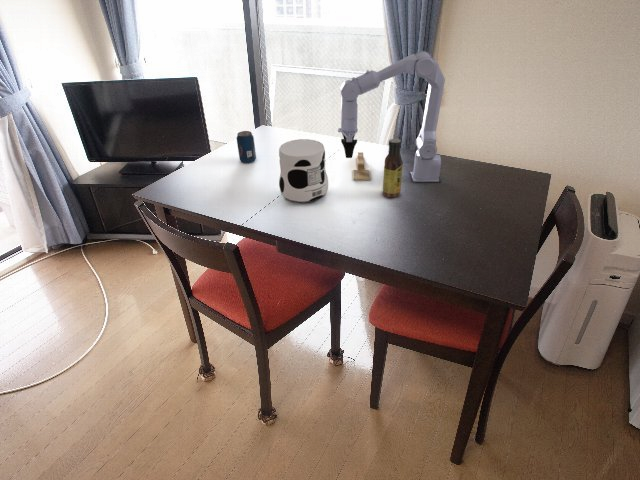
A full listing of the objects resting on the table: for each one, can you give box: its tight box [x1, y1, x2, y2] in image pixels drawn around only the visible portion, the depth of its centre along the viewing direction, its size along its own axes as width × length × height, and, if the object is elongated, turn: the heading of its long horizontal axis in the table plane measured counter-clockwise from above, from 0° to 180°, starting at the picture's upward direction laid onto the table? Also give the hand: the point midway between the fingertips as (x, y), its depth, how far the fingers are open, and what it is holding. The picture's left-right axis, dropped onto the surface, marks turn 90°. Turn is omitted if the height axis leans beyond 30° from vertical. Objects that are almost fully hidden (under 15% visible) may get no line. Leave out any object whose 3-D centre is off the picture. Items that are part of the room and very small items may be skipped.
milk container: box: [278, 138, 329, 204], centre depth 145 cm, size 17×17×18 cm
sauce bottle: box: [382, 138, 404, 199], centre depth 143 cm, size 6×6×20 cm
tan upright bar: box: [353, 151, 371, 181], centre depth 166 cm, size 20×6×3 cm, turn 177°
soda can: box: [236, 130, 257, 165], centre depth 173 cm, size 7×7×12 cm
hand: (348, 153), depth 155 cm, fingers open, 7 cm apart
